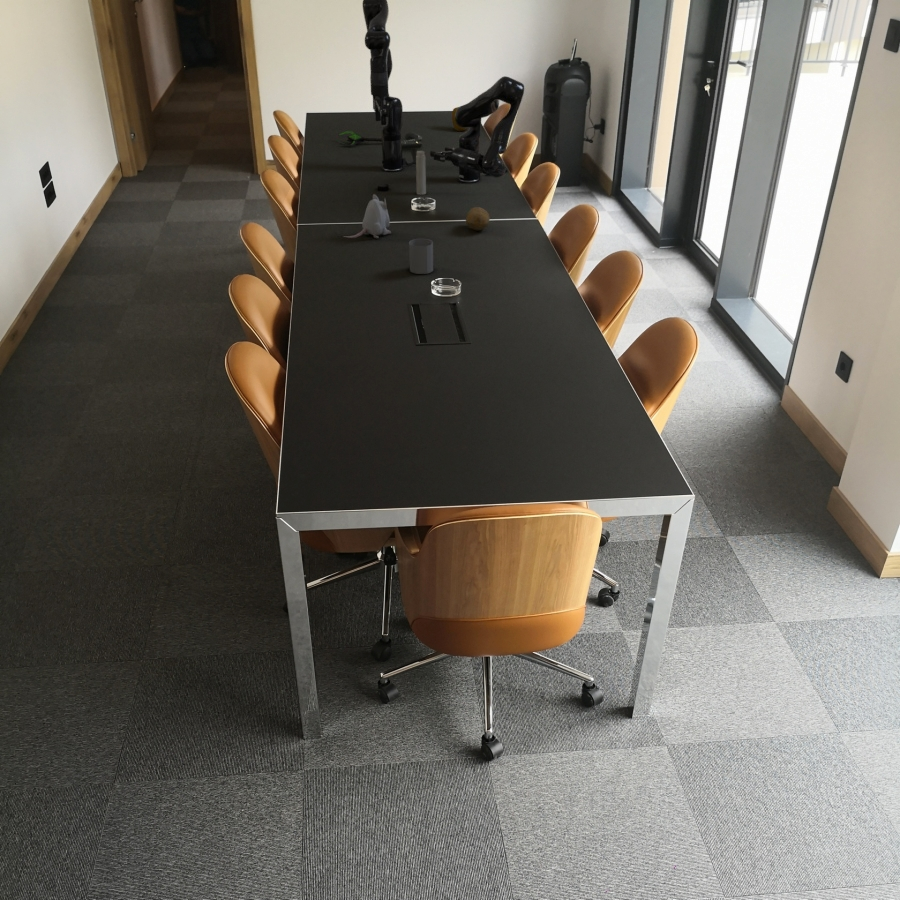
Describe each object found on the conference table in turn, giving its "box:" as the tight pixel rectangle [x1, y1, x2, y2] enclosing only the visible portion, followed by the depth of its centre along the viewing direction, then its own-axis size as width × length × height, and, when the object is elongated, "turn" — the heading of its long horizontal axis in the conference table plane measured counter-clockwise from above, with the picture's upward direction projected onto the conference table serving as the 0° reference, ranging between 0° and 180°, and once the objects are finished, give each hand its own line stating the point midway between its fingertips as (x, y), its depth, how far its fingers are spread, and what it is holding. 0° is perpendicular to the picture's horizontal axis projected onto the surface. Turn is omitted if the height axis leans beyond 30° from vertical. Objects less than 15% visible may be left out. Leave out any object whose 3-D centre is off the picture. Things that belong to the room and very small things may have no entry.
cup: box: [408, 237, 434, 275], centre depth 305 cm, size 8×8×10 cm
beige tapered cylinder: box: [415, 150, 427, 196], centre depth 383 cm, size 4×4×18 cm
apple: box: [451, 106, 469, 132], centre depth 487 cm, size 11×11×13 cm
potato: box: [465, 206, 491, 231], centre depth 344 cm, size 10×14×8 cm
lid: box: [377, 183, 390, 192], centre depth 392 cm, size 5×5×2 cm
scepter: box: [337, 130, 382, 148], centre depth 462 cm, size 6×13×30 cm
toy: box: [343, 193, 392, 239], centre depth 332 cm, size 9×24×15 cm, turn 137°
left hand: (380, 122), depth 377 cm, fingers open, 8 cm apart
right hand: (438, 151), depth 370 cm, fingers open, 8 cm apart
